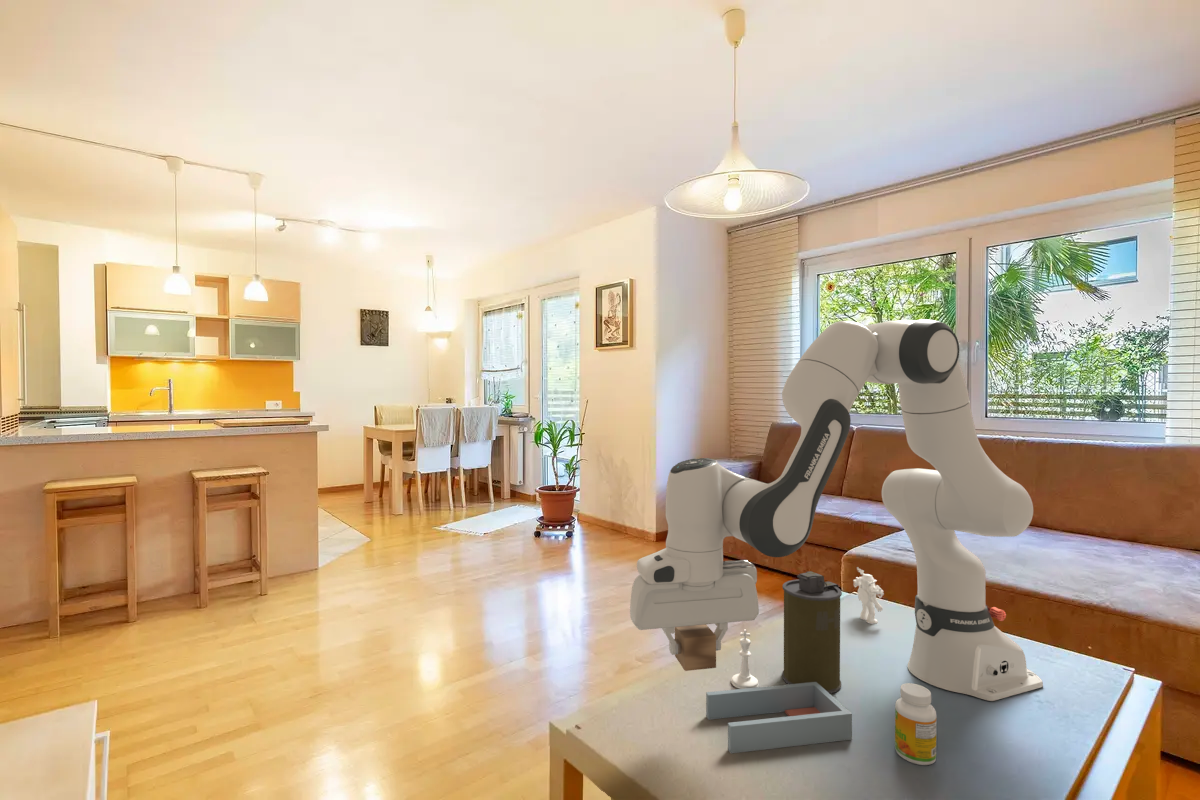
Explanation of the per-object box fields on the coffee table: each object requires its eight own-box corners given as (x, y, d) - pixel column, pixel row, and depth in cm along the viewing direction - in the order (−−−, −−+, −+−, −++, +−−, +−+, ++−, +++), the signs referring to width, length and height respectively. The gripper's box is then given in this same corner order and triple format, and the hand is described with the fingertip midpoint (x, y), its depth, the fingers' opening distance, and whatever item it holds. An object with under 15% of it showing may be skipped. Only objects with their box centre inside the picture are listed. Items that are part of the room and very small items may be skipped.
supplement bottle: (888, 743, 87) (888, 680, 87) (923, 744, 87) (924, 680, 87) (906, 766, 81) (906, 698, 81) (944, 767, 81) (944, 699, 81)
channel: (816, 704, 98) (816, 681, 98) (851, 739, 88) (852, 713, 88) (706, 716, 94) (706, 692, 94) (730, 753, 84) (730, 726, 84)
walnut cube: (704, 653, 92) (704, 622, 91) (716, 667, 87) (715, 635, 87) (674, 656, 91) (674, 625, 91) (684, 670, 86) (684, 638, 86)
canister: (810, 700, 99) (811, 586, 99) (770, 673, 109) (770, 569, 109) (855, 687, 104) (856, 578, 104) (813, 662, 113) (813, 563, 113)
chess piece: (759, 691, 102) (759, 636, 102) (731, 688, 103) (731, 634, 103) (757, 678, 107) (757, 625, 107) (730, 675, 108) (731, 623, 108)
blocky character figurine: (849, 613, 139) (849, 565, 139) (863, 612, 140) (864, 564, 140) (873, 628, 130) (873, 576, 130) (888, 627, 131) (888, 575, 131)
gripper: (747, 553, 93) (748, 636, 93) (627, 561, 90) (627, 647, 90) (765, 564, 87) (766, 654, 87) (636, 573, 84) (637, 666, 84)
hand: (695, 651), depth 89 cm, fingers closed on walnut cube, 5 cm apart
